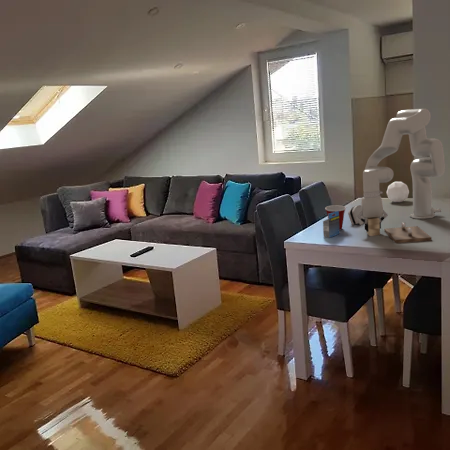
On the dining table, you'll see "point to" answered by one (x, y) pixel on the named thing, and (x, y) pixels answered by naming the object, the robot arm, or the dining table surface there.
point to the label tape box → (331, 225)
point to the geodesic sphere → (397, 191)
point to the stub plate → (407, 234)
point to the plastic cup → (333, 209)
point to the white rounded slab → (355, 215)
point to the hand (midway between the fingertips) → (372, 230)
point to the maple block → (373, 226)
